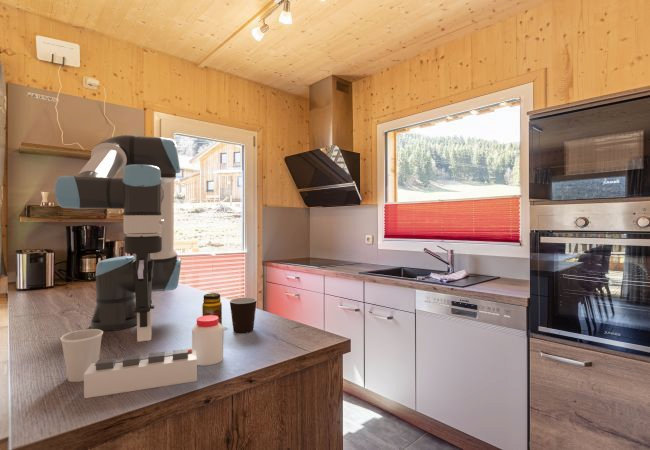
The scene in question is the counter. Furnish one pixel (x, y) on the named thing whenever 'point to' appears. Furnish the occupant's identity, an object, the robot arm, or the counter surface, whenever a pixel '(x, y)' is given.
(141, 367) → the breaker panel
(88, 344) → the dixie cup
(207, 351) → the pill bottle
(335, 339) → the counter surface
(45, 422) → the counter surface
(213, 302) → the condiment
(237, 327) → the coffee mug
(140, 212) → the robot arm
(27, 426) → the counter surface
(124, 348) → the counter surface
